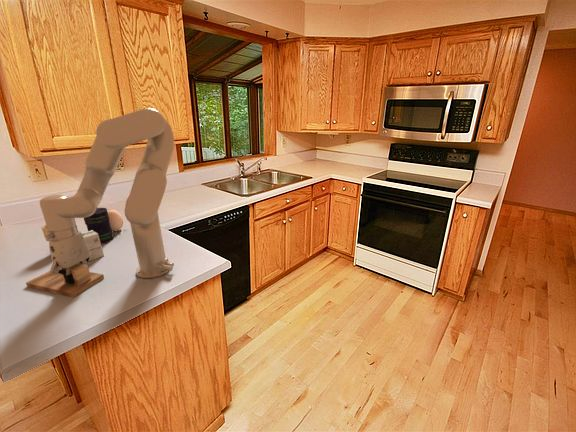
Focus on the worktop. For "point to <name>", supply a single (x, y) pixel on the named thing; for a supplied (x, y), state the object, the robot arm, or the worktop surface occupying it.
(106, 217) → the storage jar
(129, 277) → the worktop surface
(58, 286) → the board
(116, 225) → the egg
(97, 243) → the light bulb box
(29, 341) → the worktop surface
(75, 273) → the block
